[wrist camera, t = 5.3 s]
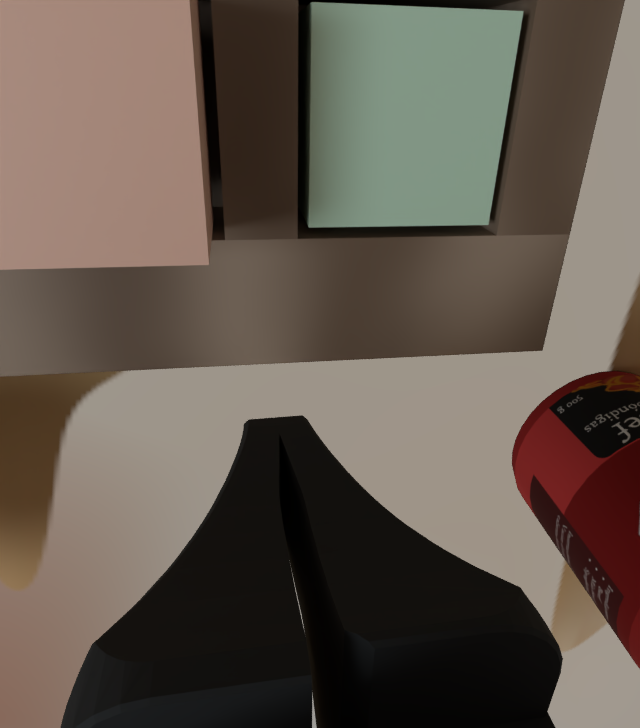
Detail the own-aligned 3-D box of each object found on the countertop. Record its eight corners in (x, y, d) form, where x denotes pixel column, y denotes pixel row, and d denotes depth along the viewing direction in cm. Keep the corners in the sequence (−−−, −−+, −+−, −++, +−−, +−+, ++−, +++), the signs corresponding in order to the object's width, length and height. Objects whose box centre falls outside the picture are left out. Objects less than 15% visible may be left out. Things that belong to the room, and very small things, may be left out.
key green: (293, 197, 18) (309, 227, 15) (293, 16, 16) (311, 1, 12) (440, 196, 19) (488, 225, 15) (460, 23, 16) (523, 11, 13)
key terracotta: (18, 222, 14) (-49, 271, 11) (-35, -8, 12) (-142, -40, 9) (213, 219, 15) (209, 264, 12) (198, 2, 13) (187, -24, 9)
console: (-234, 317, 18) (-385, 398, 14) (-494, -222, 12) (-916, -391, 8) (479, 294, 22) (545, 353, 17) (551, -135, 16) (681, -218, 11)
